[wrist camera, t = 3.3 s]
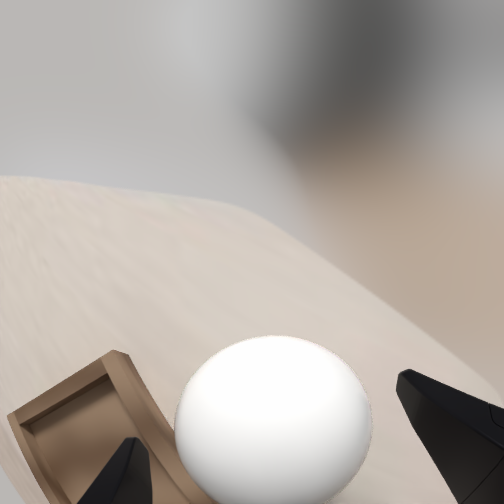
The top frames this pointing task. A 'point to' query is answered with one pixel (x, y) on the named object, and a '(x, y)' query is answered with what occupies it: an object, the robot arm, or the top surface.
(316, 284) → the top surface
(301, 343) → the lightbulb
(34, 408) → the walnut tray
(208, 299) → the top surface
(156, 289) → the top surface
